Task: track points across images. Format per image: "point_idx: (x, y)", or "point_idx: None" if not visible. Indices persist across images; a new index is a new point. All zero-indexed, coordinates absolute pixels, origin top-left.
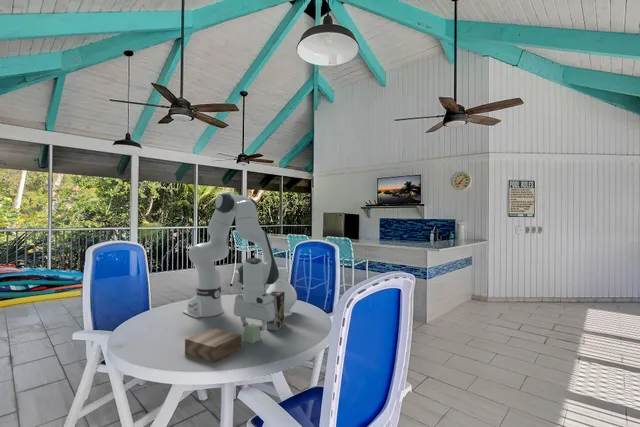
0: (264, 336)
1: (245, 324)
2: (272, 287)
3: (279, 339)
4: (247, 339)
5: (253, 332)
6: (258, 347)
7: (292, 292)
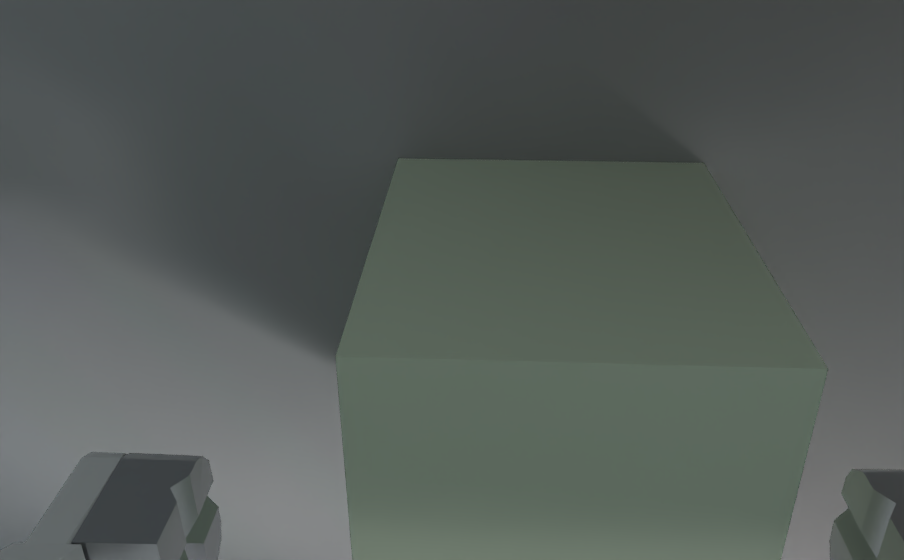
0: None
1: (897, 545)
2: None
3: None
4: (591, 185)
5: (355, 299)
6: (88, 13)
7: None
